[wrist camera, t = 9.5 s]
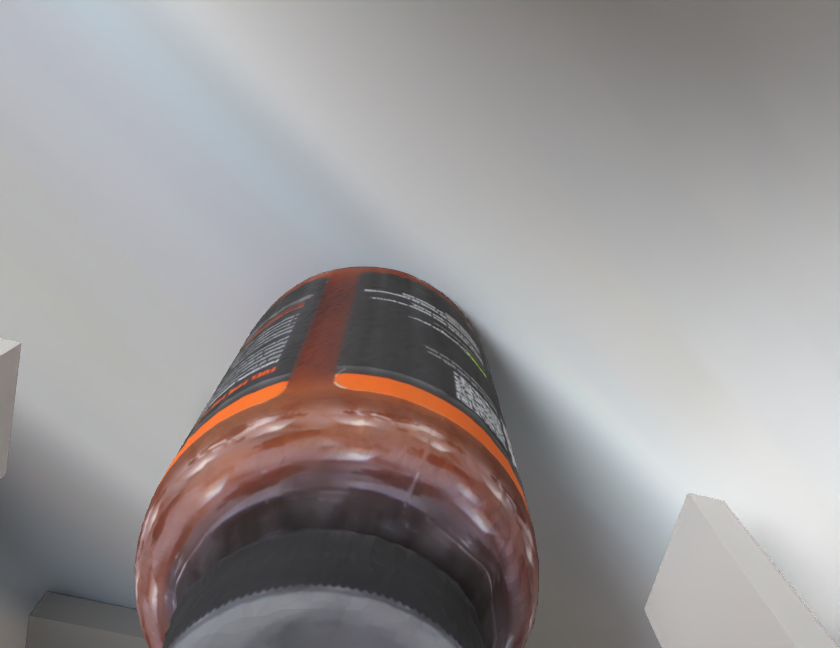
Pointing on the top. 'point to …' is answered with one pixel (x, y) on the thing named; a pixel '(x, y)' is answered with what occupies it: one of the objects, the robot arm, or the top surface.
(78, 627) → the mat
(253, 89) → the top surface
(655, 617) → the robot arm
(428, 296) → the supplement bottle
